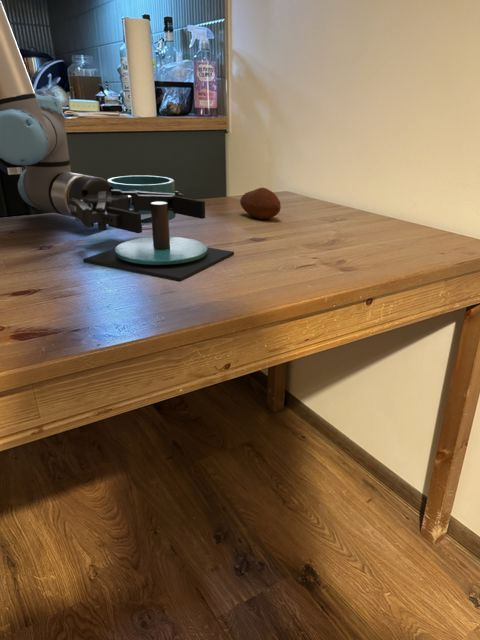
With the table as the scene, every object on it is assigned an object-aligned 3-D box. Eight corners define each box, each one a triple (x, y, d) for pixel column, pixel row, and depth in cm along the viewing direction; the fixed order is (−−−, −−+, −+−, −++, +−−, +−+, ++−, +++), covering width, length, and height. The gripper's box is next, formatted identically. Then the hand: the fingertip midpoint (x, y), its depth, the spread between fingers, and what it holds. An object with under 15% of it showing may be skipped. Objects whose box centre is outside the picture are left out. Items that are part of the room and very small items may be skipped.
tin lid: (95, 259, 77) (88, 205, 73) (152, 239, 89) (149, 191, 85) (174, 274, 72) (171, 217, 68) (224, 251, 83) (223, 200, 80)
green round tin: (97, 217, 105) (93, 180, 102) (138, 207, 116) (135, 173, 113) (150, 226, 100) (147, 187, 97) (187, 214, 111) (186, 179, 108)
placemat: (83, 262, 77) (82, 258, 77) (147, 240, 90) (146, 237, 90) (180, 281, 71) (180, 277, 70) (234, 254, 84) (234, 251, 83)
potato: (251, 211, 116) (252, 182, 113) (289, 220, 109) (291, 189, 106) (232, 215, 112) (233, 185, 109) (271, 224, 105) (272, 192, 102)
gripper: (141, 209, 97) (225, 227, 86) (22, 231, 79) (109, 257, 68) (138, 169, 94) (225, 182, 83) (13, 182, 75) (104, 201, 65)
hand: (173, 216), depth 76 cm, fingers open, 13 cm apart
